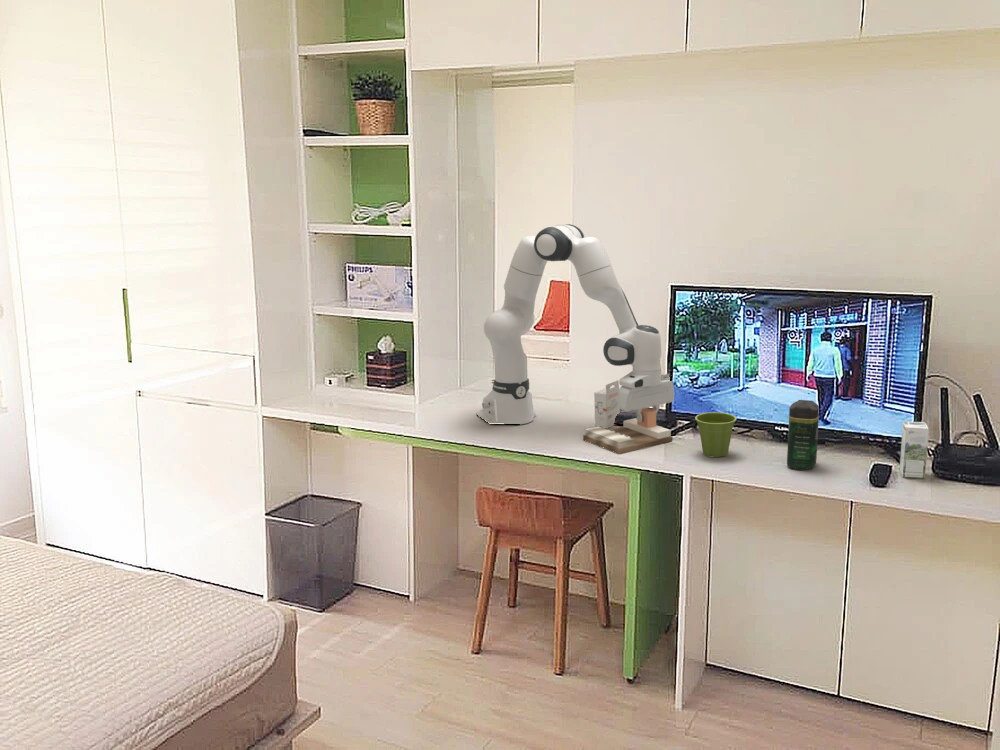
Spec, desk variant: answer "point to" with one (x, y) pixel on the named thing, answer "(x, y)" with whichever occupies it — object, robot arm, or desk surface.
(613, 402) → the ink cartridge box
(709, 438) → the plant pot
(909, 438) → the syrup box
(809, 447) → the coffee jar
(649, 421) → the white bar with block
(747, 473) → the desk surface
